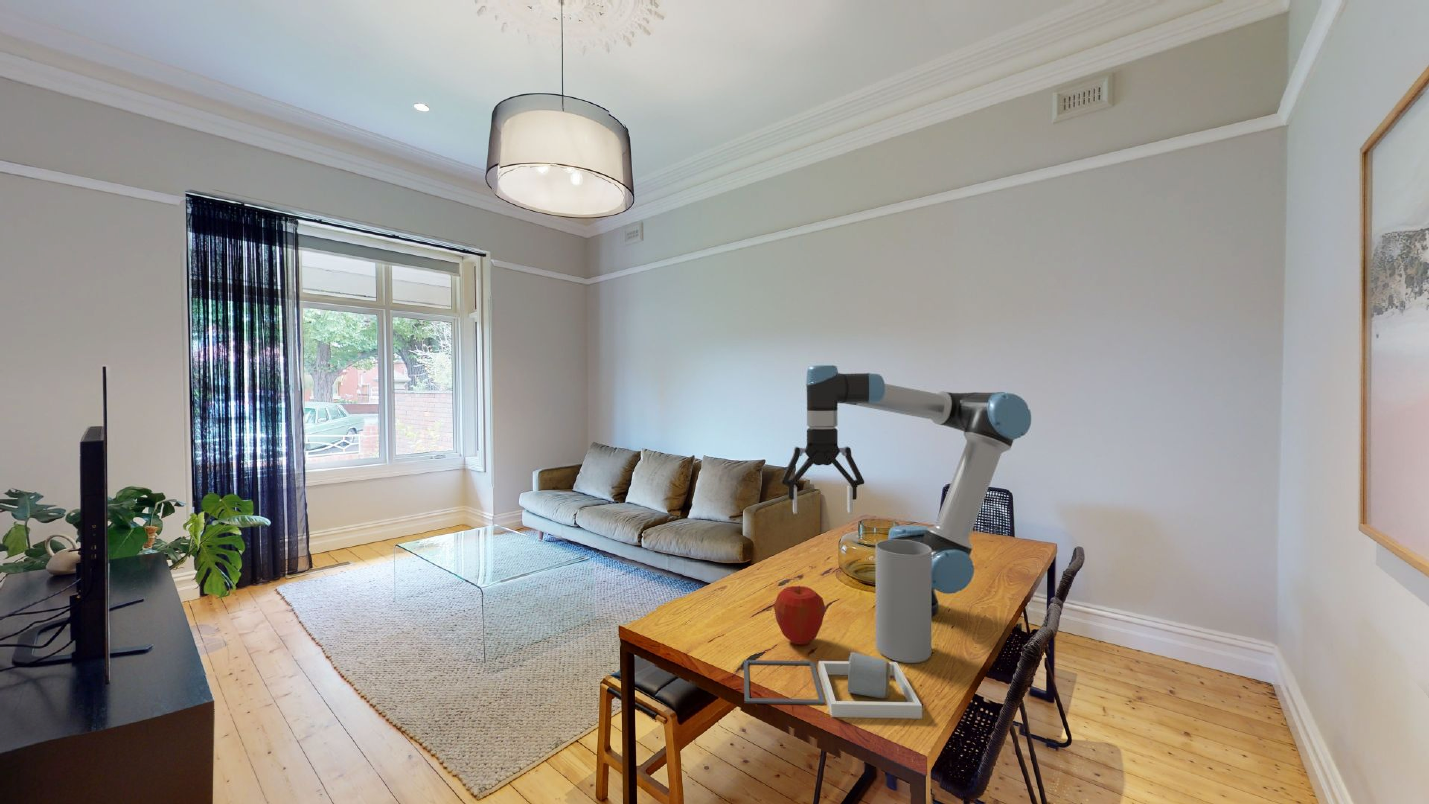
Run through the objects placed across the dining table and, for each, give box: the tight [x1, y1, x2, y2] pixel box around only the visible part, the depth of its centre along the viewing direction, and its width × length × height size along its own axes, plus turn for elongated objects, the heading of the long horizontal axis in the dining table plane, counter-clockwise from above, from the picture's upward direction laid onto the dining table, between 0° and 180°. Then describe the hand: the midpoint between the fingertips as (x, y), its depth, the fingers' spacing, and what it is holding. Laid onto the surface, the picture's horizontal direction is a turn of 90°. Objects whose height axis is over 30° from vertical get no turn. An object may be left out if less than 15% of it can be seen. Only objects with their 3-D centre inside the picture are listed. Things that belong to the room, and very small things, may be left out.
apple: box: [773, 585, 826, 646], centre depth 131 cm, size 12×12×14 cm
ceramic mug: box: [847, 651, 891, 699], centre depth 110 cm, size 11×8×8 cm
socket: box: [818, 656, 923, 720], centre depth 109 cm, size 17×18×2 cm
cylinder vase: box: [875, 539, 932, 664], centre depth 126 cm, size 12×12×25 cm
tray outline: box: [743, 659, 826, 705], centre depth 113 cm, size 16×16×1 cm
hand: (822, 512), depth 132 cm, fingers open, 13 cm apart
